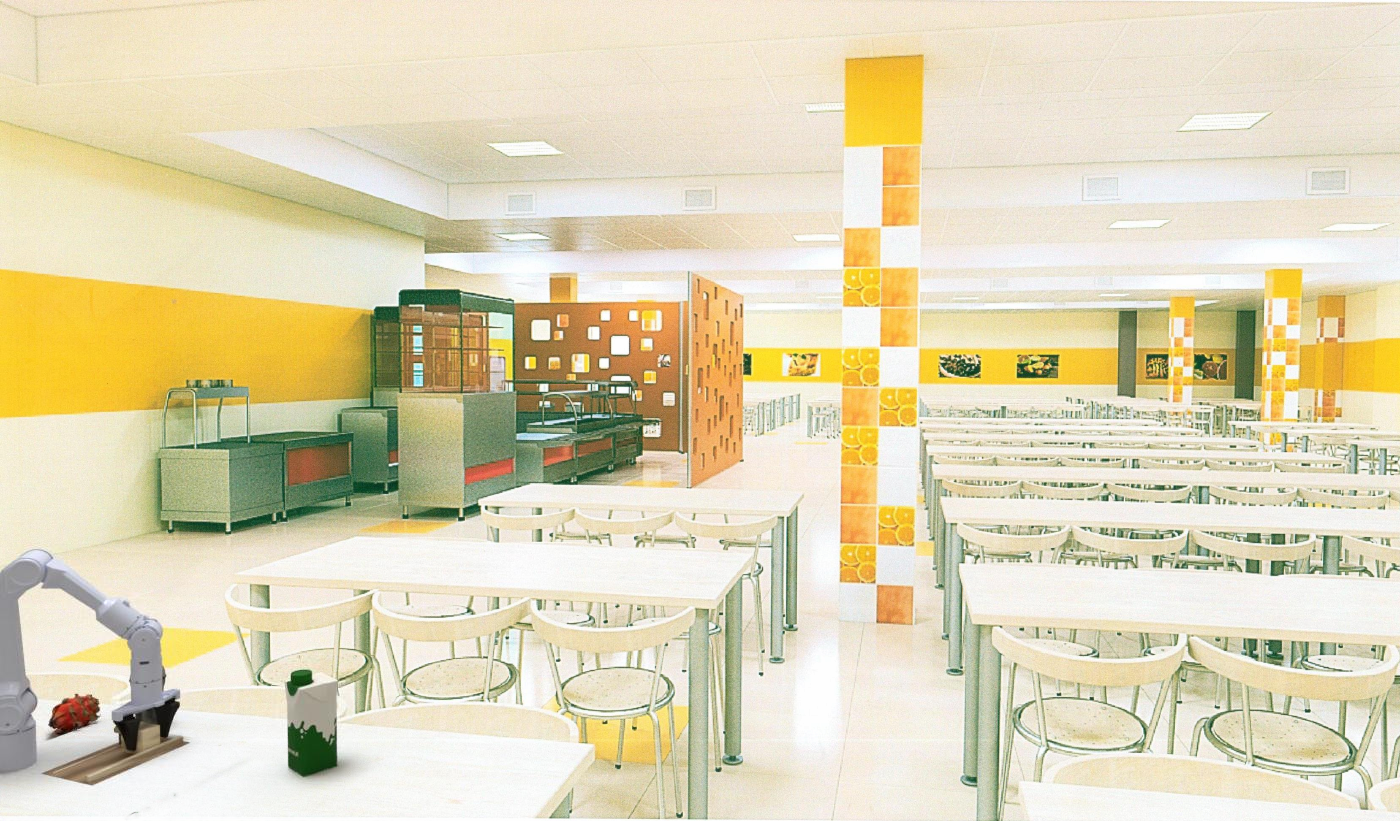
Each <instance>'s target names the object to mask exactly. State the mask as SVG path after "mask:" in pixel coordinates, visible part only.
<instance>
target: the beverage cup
mask: <svg viewBox="0 0 1400 821" xmlns="http://www.w3.org/2000/svg"><path fill="white" fill-rule="evenodd" d="M166 678H167V673H166V669H165V667H164V665H163V664H162V692H163V691H165V690H164V686H165V684H166ZM128 682H129V683H130V684H129V686H130V687H131V673H130V674H129V679H128ZM134 716H135V718H137V719H141V722H146V723H151V724H156V725H157V717H156V713H155V709H154V707H152V708H150V709H147V710H144V711H142V712H139V713H136V714H134Z"/></svg>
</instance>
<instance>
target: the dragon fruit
mask: <svg viewBox="0 0 1400 821" xmlns="http://www.w3.org/2000/svg"><path fill="white" fill-rule="evenodd" d="M99 705H100V701H99V698H96V697H94V696H93V694H85V696H83V695H79V693H74V697H70V698H69V697H66V698H63V699H62V700H61V703H59V704H56V705H55V706H54V707H53V708H52V710H51V713H52V714H51V717H50V719H49V721H48V724H47V725H48V727H50V728H52V729H54V732H55V736H58V735H67V734H69V733H71V732H72V731H74V730H80V729H81V730H82V729H84V728H86V727H87V726H90V724H89V723H93V722H96V721H97V720H99V718H100V717H101V715H102V714H101V713H100V714H99V715H98V713H99V712H101V708H100V706H99Z"/></svg>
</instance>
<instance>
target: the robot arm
mask: <svg viewBox="0 0 1400 821" xmlns="http://www.w3.org/2000/svg"><path fill="white" fill-rule="evenodd" d="M40 583H42V585H41V587H40V589H43V590H44V589H45V590H48V589H53V590H55V589H56V590H57V589H58V590H59V589H60V590H62V591H64V592H65V593H67V594H68V595H69V596H70V597H72V598H74V599H76V600H78V601H79V602H81V603H82V604H84V605H85V606H87V607H88V608H90V609H91V610H93V611H94V612H95V619H96V621H97V622H99V623H100V624H101V625H102V626H104V627H105V628H107V629H108V630H110V631H111V632H112V633H114V634H115V635H117V636H118V637H119V638H121V639H124V640H126V644H127V647H128V649H129V650H130V654H131V655H130V656H131V657H130V660H129V662H130V663H129V664H130V666H129V667H130V674H131V686H130V701H128V702H126V703H125V704H122V705H121V706H119V707H118V708H116V709H113V710H111V720H112V722H113V724H114V725H115V726H117V728H118V729H119V731H120V733H121V735H122V737H123V739H124V742H125V745H126V749H127V750H130V751H135V750H136V747H137V736H138V729H139V725H140V722H141V719H137V718H135V714H136V713H139V712H142V711H144V710H147V709H150V708H152V707H154V709H155V713H156V717H157V725H160V737H163V738H169V734H170V730H171V726H172V724H173V720H174V718H175V715H176V713H177V712H178V710H179V709H180V707H181V702H180V701H177V700H179V699H181V689H178V688H170V689H168V690H164V691H163V692H162V665H163V656H162V644H161V639H162V637H163V634H164V633H163V632H164V627H163V626H162V625H161V623H160V622H159V621H158V619H156V618H151V617H150V616H149V615H148V614H144V615H143V614H142V613H141V612H140V611H138V610H137V609H135V607H133V606H131V605H130V604H131V601H130V600H128V599H127V598H124V599H122V598H120V597H108V596H107V595H105V594H104V593H103V592H102V591H100V590H99V589H98V588H96V587H95V586H94V585H92V583H90V582H89V581H88V580H86V579H85V578H83V577H82V576H81V575H80V574H79V573H78V572H77V571H75V570H74V569H73V568H71V567H70V566H69V565H68V564H67V563H66V562H65V561H63V560H62V559H61V558H59V557H58V556H57V557H56V556H53V555H52V554H51V553H50V551H48V550H45V549H42V548H32V549H28V550H27V551H25V552H23V553H22V554H21V555H20V556H18V557H17V558H16V559H14V560H13V561H11V562H10V563H8V564H7V566H5V567H4V568H2V569H1V570H0V773H10V772H15V771H16V772H17V771H21V770H24V769H27V768H29V767H31V766H33V765H35V764H36V763H37V761H38V756H37V754H38V752H37V723H36V720H35V718H34V717H33V715H32V713H33V712H34V711H35V710H36V709H37V706H38V696H37V694H36V693H35V692H34V690H33V689H32V686H31V681H30V680H29V678H28V676H27V674H26V665H25V664H26V663H25V654H24V647H23V646H24V645H23V643H24V642H23V636H22V625H21V624H22V623H21V616H20V607H19V600H20V598H21V597H22V596H23V595H25V593H26V592H27V591H29V590H31V589H33V588H34V587H36V586H38V585H39V584H40ZM122 737H121V738H122Z"/></svg>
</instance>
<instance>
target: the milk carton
mask: <svg viewBox="0 0 1400 821" xmlns="http://www.w3.org/2000/svg"><path fill="white" fill-rule="evenodd" d="M284 687H285V688H284V689H285V690H284V691H285V696H286V697H285V698H286V713H287V714H286V718H287V720H286V721H287V767H288V768H289V769H291V770H293V771H294V772H295V773H297V774H299V775H300V776H301V777H303V778H304V777H307V776H310V775H311V776H312V775H314V774H317V773H321V772H323V771H327V770H330V769H333V768H336V767H338V722H337V721H338V714H337V706H338V705H337V704H338V702H337V698H338V697H337V696H338V687H339V679H336V678H334V677H332V676H330V675H328V674H326V673H324V672H322V671H320V672H317V673H313V671H312V670H310V669H299V670H298V669H297V670H294V671H292V672H291V673H290V679H286V680H284Z"/></svg>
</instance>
